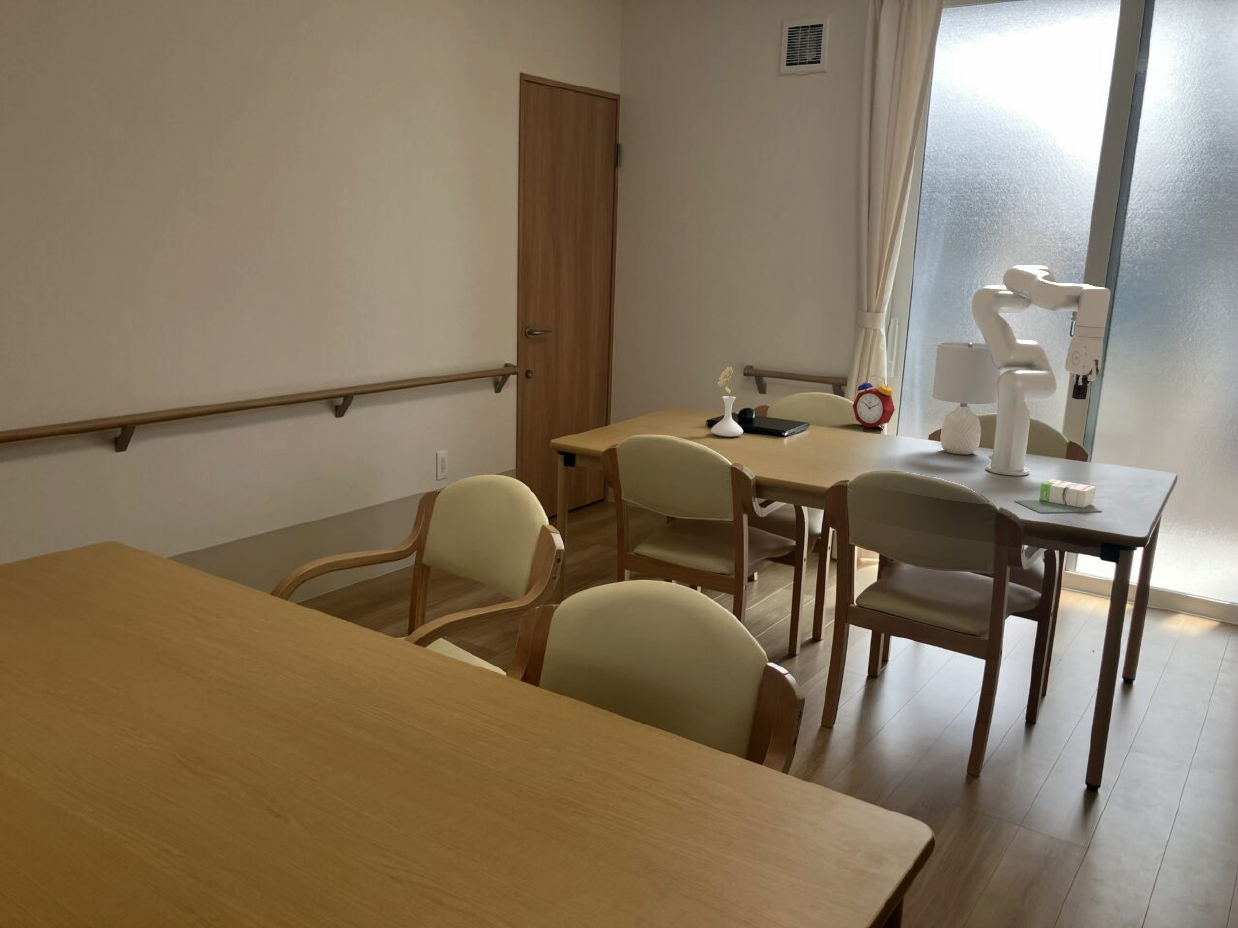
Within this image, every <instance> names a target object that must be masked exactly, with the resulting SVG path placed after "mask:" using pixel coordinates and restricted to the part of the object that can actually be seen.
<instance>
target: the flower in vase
mask: <svg viewBox="0 0 1238 928" xmlns="http://www.w3.org/2000/svg"><path fill="white" fill-rule="evenodd" d="M733 372H734V370H733V367H732V366H727V367H726V368H725V369H724V370H723V371H722V372H721V374H720V377H718V382H717V385H718V387H719V388H720V387H723V386H725V385H726V384H728V382H729V385H730V387H728V385H726V386H725V387H724V390H725V391H726V393H728V394H729V395H726V396H725V395H724V396H721V399H722V401H723V403H724V416H723V418H722V419H721V420H719V422H717V423H716V424H714V425H713V426H712V427H711V429H710V432H711V433H712V434H714V435H716V436H719V437H739V436H740V435H742V434H743V433H744V430H743V428H742V427H741V426H740V425H739V424H738V422H736V421H735V420H734V419H733V417H732V409H733V404H734V402H735V400H736V399H737V397H736V396H733V391H734V388H733V387H732V383H731V381H730V379H731V378H732V374H733Z"/></svg>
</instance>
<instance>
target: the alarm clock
mask: <svg viewBox="0 0 1238 928" xmlns="http://www.w3.org/2000/svg"><path fill="white" fill-rule="evenodd" d="M866 377H867V378H866V381H862V384H860V385H858V388H857V391H859V392H857V395H856V398H855V399H854V402H853V403H852V408H853V413H854V417H855V420H856V422H858V423H860V424H859V425H860V426H864V427H866V428H868V429H869V428H873V427H874V428H875V427H878V426H880V428H881V429H882V430H884V429H885V427H884V425H885V424H889V423H890V421H891V419H892V417H893V414H894V413H895V410H896V408H895V405H894V402H893V398H892V395H893V394H894V393H893V389H892V388H891V387H889V384H886V379H885V378H884V377H882V376H880V375H878V374H873V375H869V376H866ZM872 377H878V378H880V379H882V380H883V384H881V385H880V384H879V383H876V386H877V387H875V388H873V387H874V385H873V384H872V383H871V382H870V383H869V382H868V381H869V378H872Z"/></svg>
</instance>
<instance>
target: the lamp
mask: <svg viewBox="0 0 1238 928" xmlns="http://www.w3.org/2000/svg"><path fill="white" fill-rule="evenodd" d="M934 367H935V369H934V378H933V389H932V398H933V399H935V400H939V401H941V402H942V401H943V402H950V403H958V404H960V405H957V407H956V408H955V410H954V411H950V412H948V414H946V415H945V417H944V420H943V422H942V425H941V431H940V437H939V438H940V439H939V440H940V445H941V448H942V449H943V450H944V451H945V452H946V453H948V454H953V455H959V456H960V455H961V456H964V455H967V456H968V455H972V454H973V453H975V452H976V451H977V450H978V448H979V446H980V443H981V434H982V433H981V431H982V430H981V421H980V418H979V416H978V415H977V414H975V413H973V412H972V410H971V408H970V406H969V405H988V404H989V405H990V404H996V403H998V395H997V381H998V378H999V377H1000V375H1001V370H999V369H997V368H996V367H995V366H994V364H993V361H992V359H991V356H990V353H989V351H988V348H987V345H986V343H983V342H982V343H979V342H964V341H963V342H962V341H943V342H937V347H936V358H935V366H934ZM968 404H969V405H968Z"/></svg>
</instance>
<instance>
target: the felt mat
mask: <svg viewBox="0 0 1238 928" xmlns="http://www.w3.org/2000/svg"><path fill="white" fill-rule="evenodd" d="M1013 502H1014V503H1016V504H1019V505H1021V506H1023V507H1025V508H1028V509H1029V510H1032V511H1034V512H1036V513H1038V514H1064V513H1065V514H1068V513H1069V514H1074V513H1076V514H1077V513H1078V514H1079V513H1080V514H1081V513H1102V512H1103V511H1102V510H1100V509H1098V508H1096V507H1093V506H1091V505H1088V506H1086V507H1084V508H1080V507H1074V506H1069V505H1063V504H1057V503H1052V502H1046V501H1041V500H1039V499H1030V500H1029V499H1025V500H1023V499H1022V500H1021V499H1020V500H1013Z"/></svg>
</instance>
